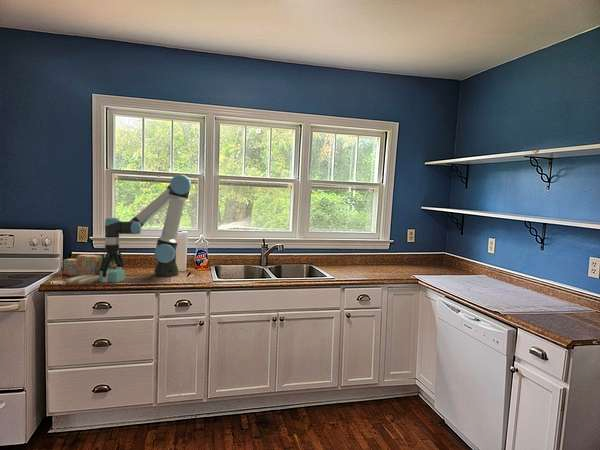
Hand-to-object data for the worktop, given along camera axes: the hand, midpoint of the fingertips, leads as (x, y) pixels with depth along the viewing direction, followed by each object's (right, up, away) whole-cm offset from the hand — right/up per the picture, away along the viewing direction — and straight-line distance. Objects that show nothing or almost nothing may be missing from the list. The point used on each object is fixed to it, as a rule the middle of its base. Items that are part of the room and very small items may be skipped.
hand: (112, 280), depth 237 cm
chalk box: (-8, +1, +13) cm, 16 cm away
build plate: (-14, 0, -2) cm, 14 cm away
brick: (0, 0, 0) cm, 0 cm away
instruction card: (-27, 0, -10) cm, 29 cm away
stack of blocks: (-26, +1, +15) cm, 30 cm away
